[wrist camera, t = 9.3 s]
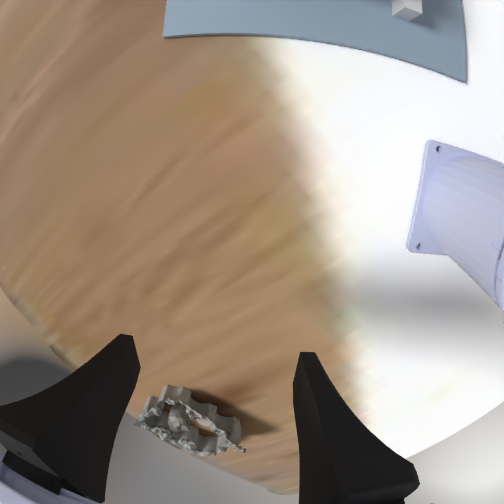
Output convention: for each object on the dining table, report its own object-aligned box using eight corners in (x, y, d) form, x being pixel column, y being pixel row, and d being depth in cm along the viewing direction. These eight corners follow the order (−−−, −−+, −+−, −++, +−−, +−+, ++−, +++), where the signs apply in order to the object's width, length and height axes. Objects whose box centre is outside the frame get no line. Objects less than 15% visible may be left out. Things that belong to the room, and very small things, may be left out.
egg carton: (252, 423, 29) (251, 453, 26) (208, 440, 32) (203, 467, 28) (177, 375, 26) (168, 408, 22) (137, 398, 28) (127, 426, 25)
